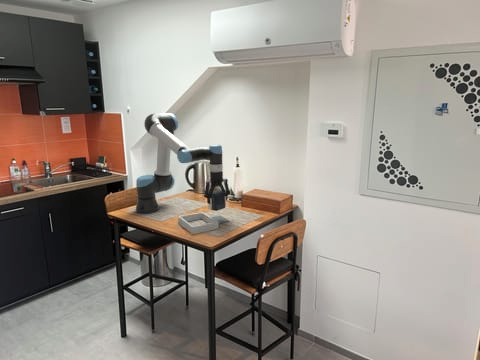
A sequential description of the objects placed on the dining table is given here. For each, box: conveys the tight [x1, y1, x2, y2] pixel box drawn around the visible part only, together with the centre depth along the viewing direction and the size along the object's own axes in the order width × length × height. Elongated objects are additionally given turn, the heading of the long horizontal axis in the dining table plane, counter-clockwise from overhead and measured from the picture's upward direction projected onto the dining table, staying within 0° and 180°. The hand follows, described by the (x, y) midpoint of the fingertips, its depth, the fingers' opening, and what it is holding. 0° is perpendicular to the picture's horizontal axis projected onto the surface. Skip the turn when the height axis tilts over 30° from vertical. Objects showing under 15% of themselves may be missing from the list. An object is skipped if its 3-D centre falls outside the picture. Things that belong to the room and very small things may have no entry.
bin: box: [177, 211, 220, 235], centre depth 203 cm, size 22×16×4 cm
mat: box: [210, 214, 230, 225], centre depth 212 cm, size 12×10×1 cm
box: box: [210, 189, 226, 212], centre depth 209 cm, size 8×6×11 cm
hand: (217, 207), depth 210 cm, fingers closed on box, 9 cm apart
